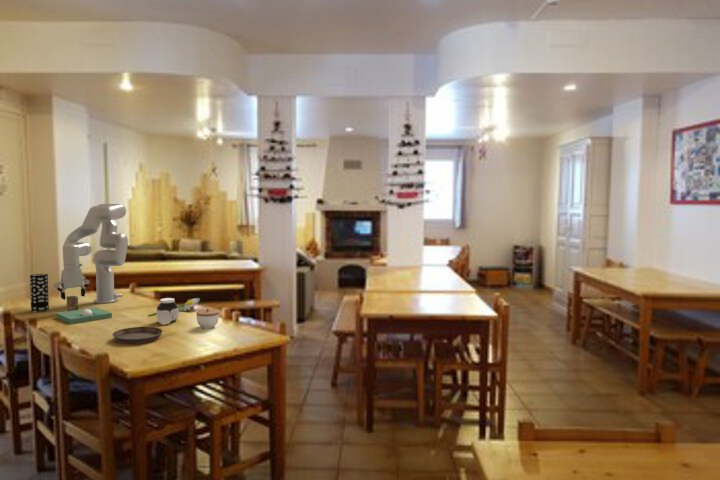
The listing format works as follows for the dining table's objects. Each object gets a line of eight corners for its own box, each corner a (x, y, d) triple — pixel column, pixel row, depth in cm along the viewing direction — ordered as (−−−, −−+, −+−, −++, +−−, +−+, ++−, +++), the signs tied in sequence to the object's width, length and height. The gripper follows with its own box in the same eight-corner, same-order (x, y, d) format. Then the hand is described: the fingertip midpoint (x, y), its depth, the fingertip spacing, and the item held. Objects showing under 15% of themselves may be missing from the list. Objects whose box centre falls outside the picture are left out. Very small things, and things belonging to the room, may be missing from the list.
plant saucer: (172, 335, 228) (172, 328, 228) (143, 347, 208) (142, 340, 208) (133, 331, 233) (133, 324, 233) (101, 343, 213) (101, 336, 213)
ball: (84, 319, 251) (82, 321, 255) (94, 316, 254) (92, 318, 258) (81, 310, 251) (79, 311, 255) (91, 307, 255) (89, 309, 258)
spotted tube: (42, 312, 269) (41, 276, 268) (27, 311, 269) (26, 275, 268) (52, 308, 277) (51, 273, 276) (37, 308, 277) (36, 273, 276)
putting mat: (96, 311, 272) (96, 307, 272) (112, 317, 259) (111, 313, 259) (56, 317, 257) (55, 312, 257) (70, 324, 244) (70, 319, 244)
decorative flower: (154, 322, 260) (205, 307, 282) (152, 313, 259) (203, 298, 281) (144, 319, 269) (194, 304, 290) (142, 311, 268) (193, 297, 290)
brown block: (75, 311, 272) (74, 295, 271) (78, 313, 268) (77, 296, 268) (67, 312, 269) (66, 296, 268) (70, 314, 265) (69, 297, 265)
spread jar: (174, 318, 259) (173, 297, 259) (183, 322, 251) (183, 300, 251) (151, 322, 251) (150, 299, 250) (160, 326, 243) (159, 303, 242)
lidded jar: (223, 325, 247) (223, 307, 246) (210, 330, 236) (210, 311, 236) (205, 323, 250) (205, 305, 249) (191, 328, 240) (191, 309, 239)
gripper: (85, 264, 276) (87, 293, 278) (51, 267, 263) (53, 299, 265) (91, 265, 271) (92, 296, 273) (56, 269, 258) (58, 301, 260)
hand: (73, 297), depth 269 cm, fingers open, 9 cm apart
